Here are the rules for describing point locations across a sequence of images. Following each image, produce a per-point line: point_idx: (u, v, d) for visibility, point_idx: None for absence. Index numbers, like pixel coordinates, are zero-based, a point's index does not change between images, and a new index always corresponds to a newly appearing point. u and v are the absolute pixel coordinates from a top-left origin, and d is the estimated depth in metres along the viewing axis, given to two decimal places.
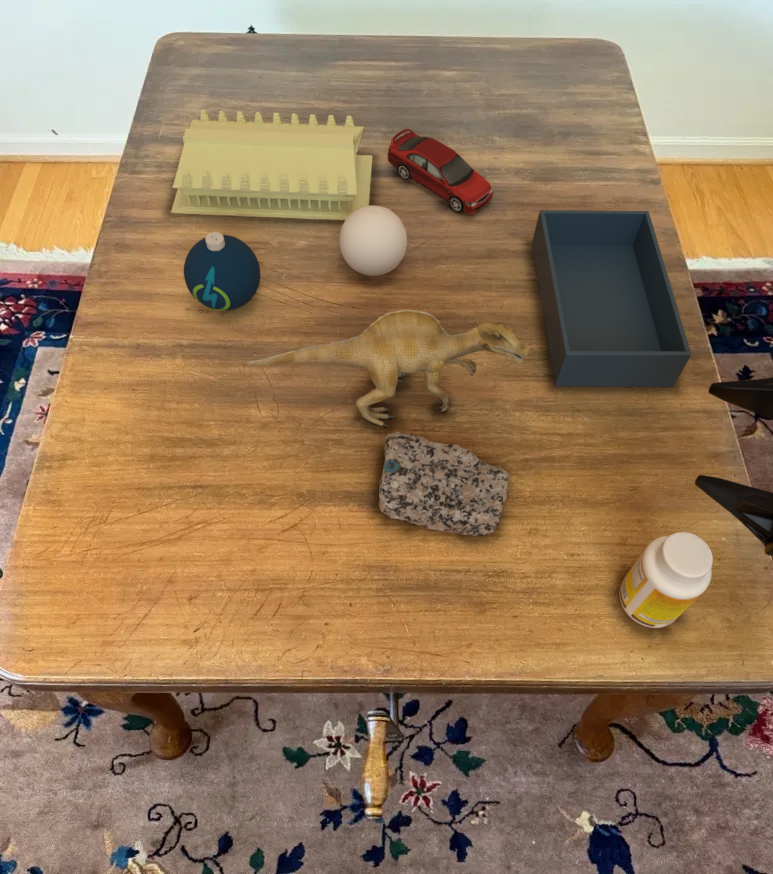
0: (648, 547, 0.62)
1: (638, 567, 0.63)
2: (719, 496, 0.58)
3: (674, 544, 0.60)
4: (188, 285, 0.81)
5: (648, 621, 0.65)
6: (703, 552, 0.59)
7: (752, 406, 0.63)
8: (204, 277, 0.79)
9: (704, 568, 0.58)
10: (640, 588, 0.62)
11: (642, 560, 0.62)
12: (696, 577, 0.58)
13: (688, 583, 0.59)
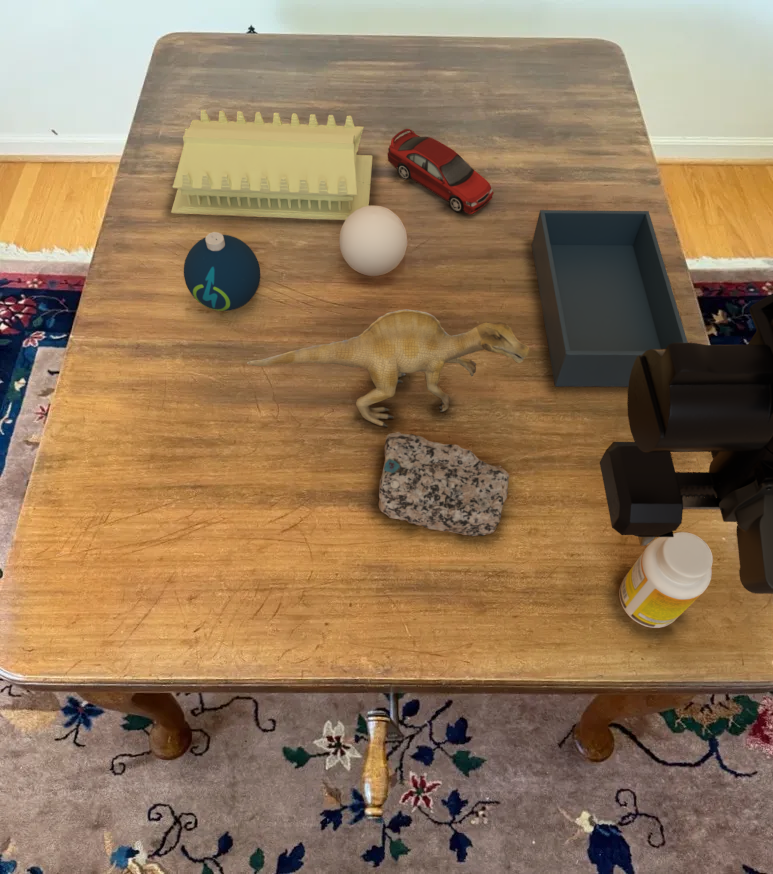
0: (648, 547, 0.62)
1: (638, 567, 0.63)
2: None
3: (674, 544, 0.60)
4: (188, 285, 0.81)
5: (648, 621, 0.65)
6: (703, 552, 0.59)
7: None
8: (204, 277, 0.79)
9: (704, 568, 0.58)
10: (640, 588, 0.62)
11: (642, 560, 0.62)
12: (696, 577, 0.58)
13: (688, 583, 0.59)
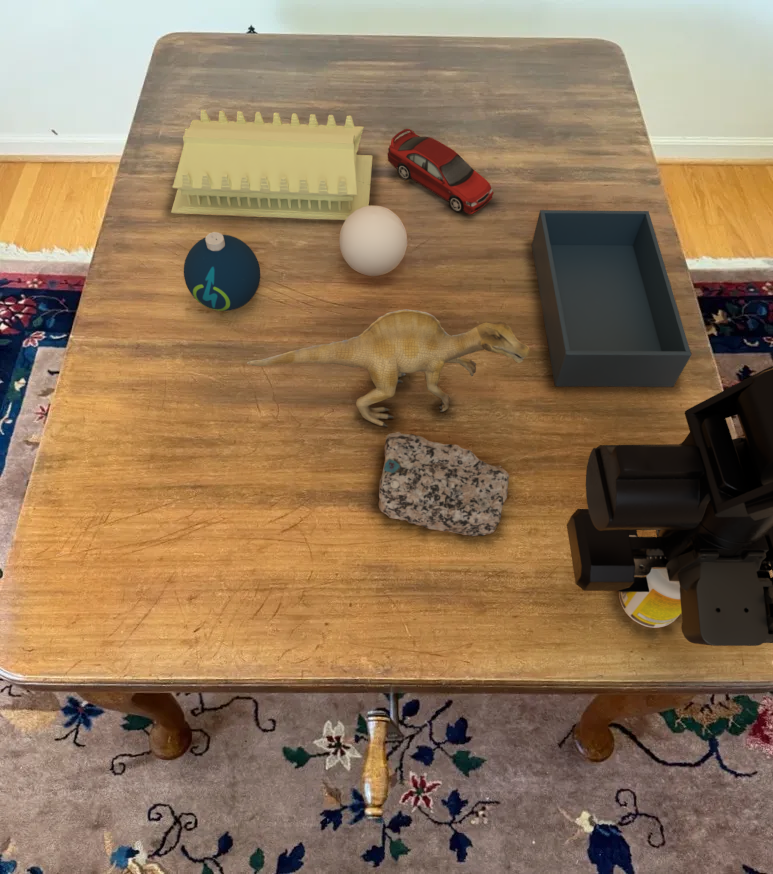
0: None
1: None
2: None
3: None
4: (188, 285, 0.81)
5: (647, 621, 0.65)
6: None
7: None
8: (204, 277, 0.79)
9: None
10: None
11: None
12: None
13: None
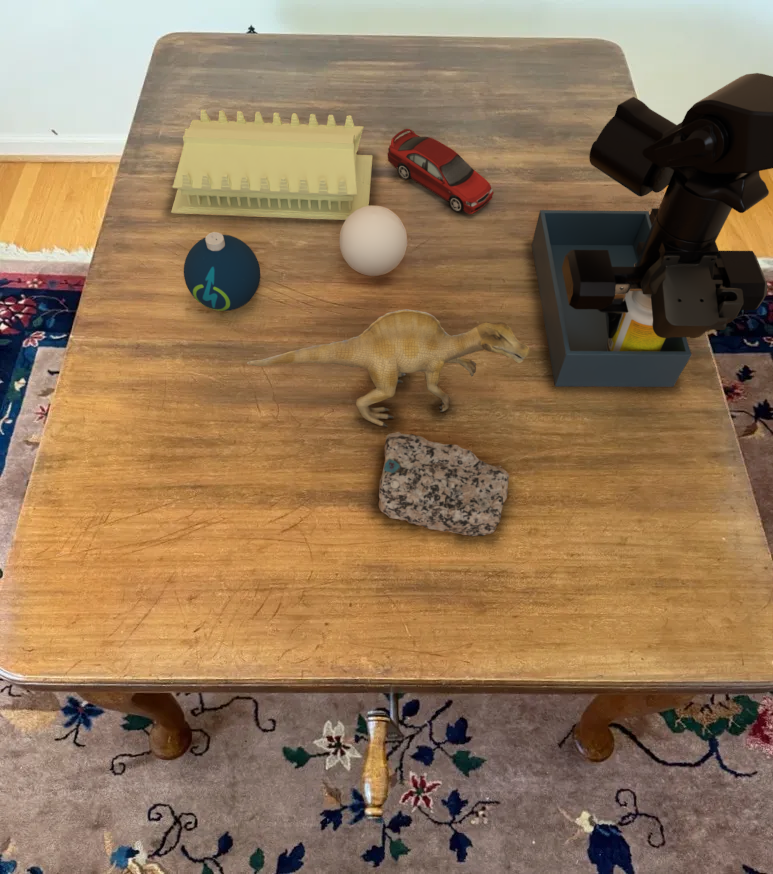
0: None
1: None
2: None
3: None
4: (188, 285, 0.81)
5: None
6: None
7: None
8: (204, 277, 0.79)
9: None
10: (621, 326, 0.77)
11: None
12: None
13: None
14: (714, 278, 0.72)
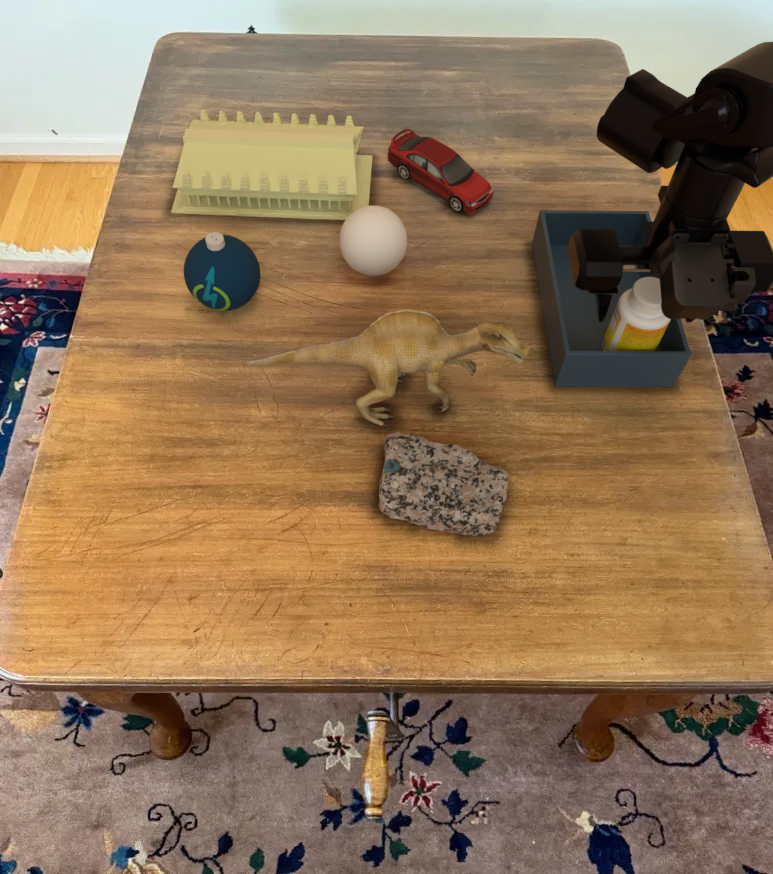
0: (622, 294, 0.77)
1: (614, 313, 0.77)
2: None
3: (642, 284, 0.74)
4: (188, 285, 0.81)
5: None
6: None
7: None
8: (204, 277, 0.79)
9: None
10: (616, 329, 0.77)
11: (617, 304, 0.77)
12: (659, 306, 0.73)
13: (653, 314, 0.74)
14: None
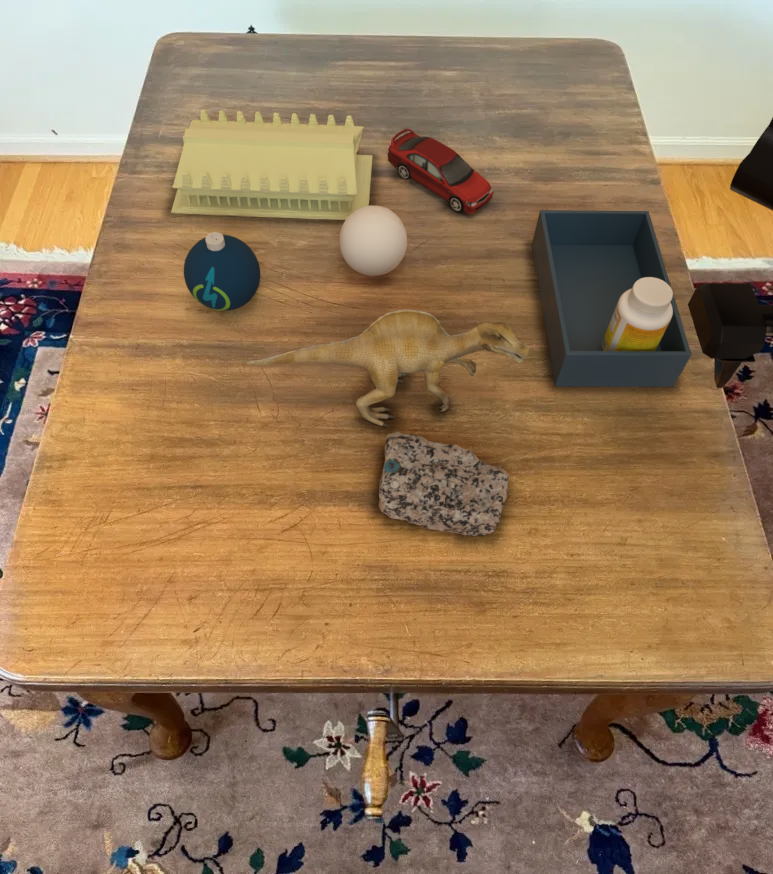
0: (622, 294, 0.77)
1: (614, 313, 0.77)
2: None
3: (642, 284, 0.74)
4: (188, 285, 0.81)
5: None
6: (665, 290, 0.74)
7: None
8: (204, 277, 0.79)
9: (665, 300, 0.73)
10: (616, 329, 0.77)
11: (617, 304, 0.77)
12: (659, 306, 0.73)
13: (653, 314, 0.74)
14: None
